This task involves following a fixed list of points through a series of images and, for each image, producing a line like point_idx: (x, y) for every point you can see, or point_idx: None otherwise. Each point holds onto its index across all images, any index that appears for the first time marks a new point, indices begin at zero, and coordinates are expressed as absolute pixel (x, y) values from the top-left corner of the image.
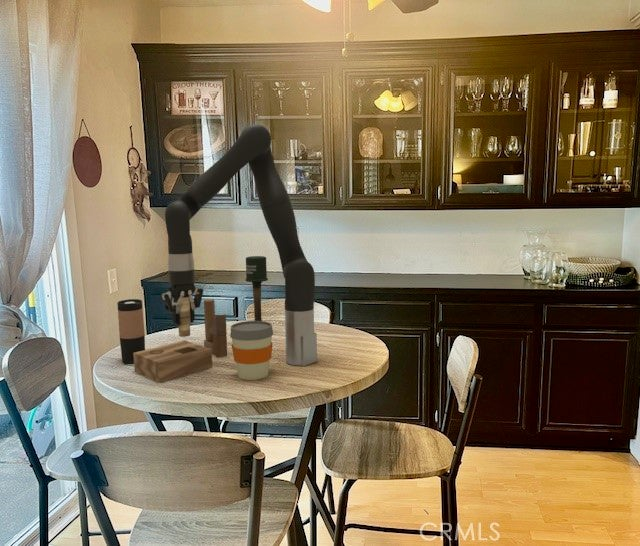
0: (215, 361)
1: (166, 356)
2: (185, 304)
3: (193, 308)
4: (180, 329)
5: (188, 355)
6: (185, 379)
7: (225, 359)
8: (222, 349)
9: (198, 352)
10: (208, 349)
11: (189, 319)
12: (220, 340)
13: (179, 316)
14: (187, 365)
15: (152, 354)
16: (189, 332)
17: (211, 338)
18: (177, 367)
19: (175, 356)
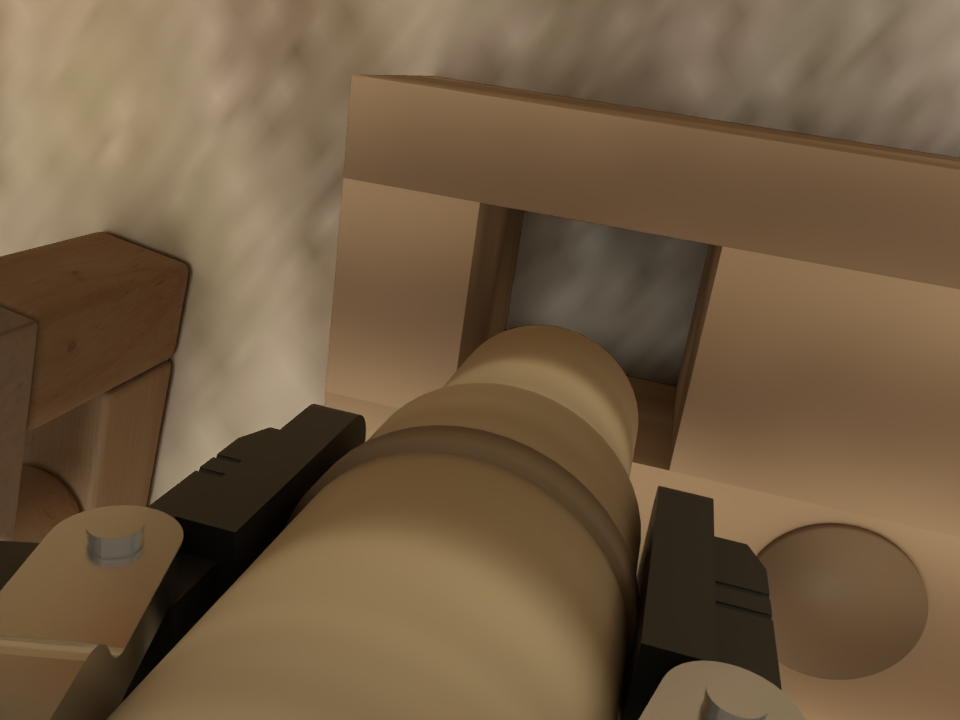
0: (285, 197)
1: (927, 359)
2: (376, 715)
3: (129, 528)
4: (626, 466)
5: (726, 134)
6: (878, 24)
7: (188, 153)
8: (103, 259)
9: (560, 106)
10: (394, 86)
11: (427, 413)
12: (45, 289)
13: (660, 588)
14: (746, 129)
15: (935, 583)
16: (500, 343)
17: (35, 490)
18: (898, 153)
19: (872, 245)
